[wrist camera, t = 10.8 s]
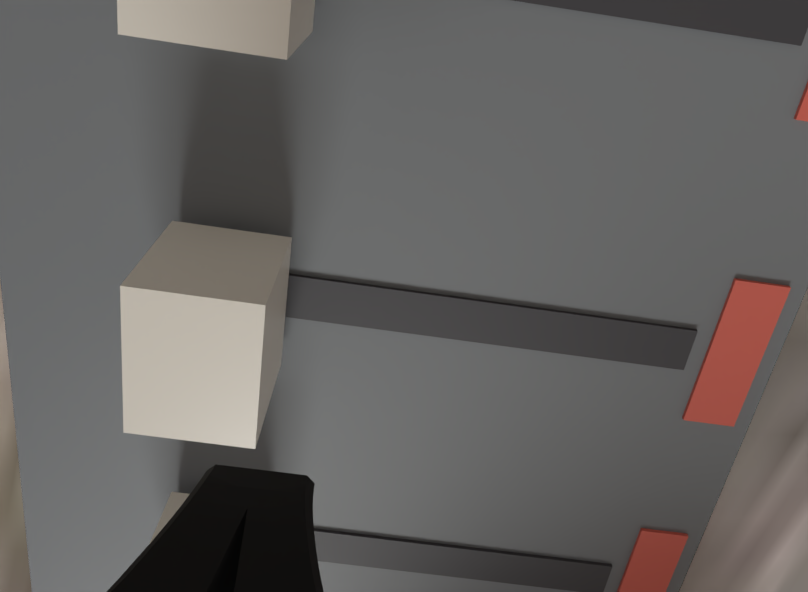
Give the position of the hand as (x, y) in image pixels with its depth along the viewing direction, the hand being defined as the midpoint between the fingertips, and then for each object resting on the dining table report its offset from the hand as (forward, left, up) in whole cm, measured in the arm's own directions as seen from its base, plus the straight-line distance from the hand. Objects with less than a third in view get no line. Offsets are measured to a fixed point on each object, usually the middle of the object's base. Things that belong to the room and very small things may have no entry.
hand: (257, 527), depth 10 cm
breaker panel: (+2, 0, -8) cm, 8 cm away
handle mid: (-2, 0, -6) cm, 7 cm away
